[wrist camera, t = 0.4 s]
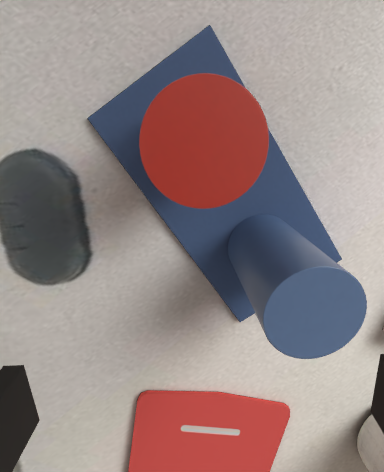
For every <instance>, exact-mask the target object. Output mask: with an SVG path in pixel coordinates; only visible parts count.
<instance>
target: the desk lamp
mask: <svg viewBox="0 0 384 472" xmlns="http://www.w3.org/2000/svg"><path fill="white" fill-rule="evenodd" d="M289 417H290V409H289V407H288V406H287V405H286V404H285V403H281V402H275V401H269V400H263V399H257V398H251V397H246V396H240V395H234V394H228V393H222V392H198V391H153V390H147V391H145V392H142V393H141V394H140V396H139V398H138V399H137V407H136V415H135V423H134V431H133V439H132V446H131V454H130V462H129V470H128V472H270V469H271V467H272V464H273V461H274V458H275V456H276V453H277V450H278V447H279V445H280V442H281V439H282V436H283V434H284V431H285V428H286V426H287V423H288V420H289Z"/></svg>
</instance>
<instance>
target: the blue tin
mask: <svg viewBox="0 0 384 472" xmlns="http://www.w3.org/2000/svg"><path fill="white" fill-rule="evenodd" d="M228 255H229V259H230V261H231V263H232V265H233V267H234V269H235V271H236V273H237V276H238V278H239V280H240V282H241V284H242V286H243V288H244V290H245V292H246V295H247V297H248V299H249V301H250V303H251V305H252V307H253V309H254V311H255V313H256V316H257V318H258V320H259V322H260V324H261V326H262V328H263V330H264V332H265V334H266V337H267V339H268V340H269V342H270V343H271V344H272V345H273V346H274V347H275V348H276V349H277V350H278V351H280V352H282V353H283V354H285V355H288V356H290V357H294V358H300V359H313V358H319V357H323V356H326V355H329V354H331V353H333V352H335V351H337V350H339V349H340V348H342V347H343V346H345V345H346V344H347V343H348V342H349V341H351V339H352V338H353V337H354V336H355V335H356V334H357V332H358V331H359V329H360V327H361V326H362V323H363V321H364V318H365V315H366V309H367V301H366V295H365V292H364V290H363V288H362V286H361V284H360V283H359V281H358V280H357V279H356V278H355V277H354V276H353V275H351V274H350V273H349V272H348V271H346V270H345V269H344V268H343V267H341V266H340V265H339V264H337V263H336V262H335V261H334V260H332V259H331V258H330V257H329V256H327V255H326V254H325V253H324V252H322V251H321V250H320V249H318V248H317V247H316V246H315V245H313V244H312V243H311V242H310V241H308V240H307V239H306V238H305V237H303V236H302V235H301V234H300V233H298V232H297V231H296V230H294V229H293V228H292V227H291V226H289V225H288V224H287V223H286V222H284V221H283V220H282V219H280V218H278V217H276V216H273V215H269V214H259V215H254V216H251V217H249V218H247V219H245V220H243V221H242V222H241V223H240V224H238V225H237V226H236V228H235V229H234V230H233V232H232V234H231V236H230V238H229V242H228Z"/></svg>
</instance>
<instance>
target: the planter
mask: <svg viewBox="0 0 384 472" xmlns="http://www.w3.org/2000/svg"><path fill="white" fill-rule="evenodd" d="M357 448H358V452H359V454H360V456H361V459H362V461H363V462H364V464H365V466H366V467H367V469H368V471H369V472H384V434H383V432H382V430H381V429H380V427H379V425H378V424H377V422H376V420H375V419H374V417H373V415H372V414H371V415H370V416H369V417H368V418H367V419H366V421H365V422H364V424H363V426H362V427H361V429H360V432H359V435H358V439H357Z"/></svg>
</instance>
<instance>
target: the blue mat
mask: <svg viewBox="0 0 384 472" xmlns="http://www.w3.org/2000/svg"><path fill="white" fill-rule="evenodd" d="M199 73H210V74H217V75H221V76H225V77H227V78H230V79H232V80H234V81H236V82H237V83H239V84H241V85H242V86H243V87H244V88H245V86H244V85H243V83H242V81H241V79H240V78H239V76H238V74H237V72H236V70H235V69H234V67H233V65H232V63H231V62H230V60H229V58H228V56H227V54H226V53H225V51H224V49H223V47H222V46H221V44H220V42H219V40H218V39H217V37H216V35H215V33H214V31H213V30H212V28H211V26H210V25H209V26H208V27H206V28H205V29H204V30H202V31H201V32H200V33H199V34H197V35H196V36H195V37H193V38H192V39H191V40H189V41H188V42H187V43H185V44H184V45H183V46H182V47H180V48H179V49H178V50H176V51H175V52H174V53H172V54H171V55H170V56H168V57H167V58H166V59H164V60H163V61H162V62H161V63H159V64H158V65H157V66H155V67H154V68H153V69H151V70H150V71H149V72H147V73H146V74H145V75H144V76H142V77H141V78H140V79H138V80H137V81H136V82H134V83H133V84H132V85H130V86H129V87H128V88H127V89H125V90H124V91H123V92H121V93H120V94H119V95H117V96H116V97H115V98H113V99H112V100H111V101H109V102H108V103H107V104H106V105H104V106H103V107H102V108H100V109H99V110H98V111H96V112H95V113H94V114H92V115H91V116H90V117H89V118H88V120H89V121H90V123H91V124H92V125H93V127H94V128H95V129H96V131H97V132H98V133H99V135H100V136H101V137H102V139H103V140H104V141H105V143H106V144H107V145H108V147H109V148H110V149H111V151H112V152H113V153H114V155H115V156H116V157H117V159H118V160H119V161H120V163H121V164H122V165H123V167H124V168H125V169H126V171H127V172H128V173H129V175H130V176H131V177H132V179H133V180H134V181H135V183H136V184H137V185H138V187H139V188H140V189H141V191H142V192H143V193H144V195H145V196H146V197H147V199H148V200H149V201H150V203H151V204H152V205H153V207H154V208H155V209H156V211H157V212H158V213H159V215H160V216H161V217H162V219H163V220H164V221H165V223H166V224H167V225H168V227H169V228H170V229H171V231H172V232H173V233H174V235H175V236H176V237H177V239H178V240H179V241H180V243H181V244H182V245H183V247H184V248H185V249H186V251H187V252H188V253H189V255H190V256H191V257H192V259H193V260H194V261H195V263H196V264H197V265H198V267H199V268H200V269H201V271H202V272H203V273H204V275H205V276H206V277H207V279H208V280H209V281H210V283H211V284H212V285H213V287H214V288H215V290H216V291H217V292H218V294H219V295H220V296H221V298H222V299H223V300H224V302H225V303H226V304H227V306H228V307H229V308H230V310H231V311H232V312H233V314H234V315H235V316H236V318H237V319H238V320H239V322H241V321H243V320H245V319H246V318H248V317H249V316H251V315H253V314H254V313H255V311H254V309H253V307H252V305H251V303H250V301H249V299H248V297H247V295H246V292H245V290H244V288H243V286H242V284H241V282H240V280H239V278H238V276H237V273H236V271H235V269H234V267H233V265H232V263H231V261H230V259H229V255H228V242H229V238H230V236H231V234H232V232H233V230H234V229H235V228H236V226H237V225H238V224H240V223H241V222H242V221H243V220H245V219H247V218H249V217H251V216H254V215H259V214H269V215H273V216H276V217H278V218H280V219H282V220H283V221H284V222H286V223H287V224H288V225H289V226H291V227H292V228H293V229H294V230H296V231H297V232H298V233H300V234H301V235H302V236H303V237H305V238H306V239H307V240H308V241H310V242H311V243H312V244H313V245H315V246H316V247H317V248H318V249H320V250H321V251H322V252H324V253H325V254H326V255H327V256H329V257H330V258H331V259H332V260H334V261H335V262H336V263H337V262H338V261H340V260H342V258H341V257H340V255H339V253H338V251H337V250H336V248H335V246H334V244H333V242H332V241H331V239H330V237H329V235H328V234H327V232H326V230H325V228H324V227H323V225H322V223H321V221H320V219H319V218H318V216H317V214H316V212H315V211H314V209H313V207H312V205H311V203H310V202H309V200H308V198H307V196H306V195H305V193H304V191H303V189H302V188H301V186H300V184H299V182H298V180H297V179H296V177H295V175H294V173H293V172H292V170H291V168H290V166H289V164H288V163H287V161H286V159H285V157H284V156H283V154H282V152H281V150H280V148H279V147H278V145H277V143H276V141H275V140H274V138H273V136H272V134H271V133H270V131H269V129H268V134H269V147H268V154H267V158H266V161H265V164H264V167H263V169H262V171H261V173H260V175H259V177H258V179H257V180H256V181H255V183H254V184H253V185H252V186H251V187H250V188H249V190H248V191H247V192H245V193H244V194H243V195H242V196H240V197H239V198H237V199H236V200H234V201H232V202H230V203H228V204H226V205H223V206H220V207H215V208H208V209H198V208H191V207H187V206H183V205H180V204H178V203H176V202H174V201H172V200H171V199H169V198H168V197H166V196H165V195H164V194H162V193H161V192H160V191H159V190H158V189H157V188H156V187H155V185H154V184H153V183H152V181H151V180H150V178H149V177H148V175H147V173H146V171H145V169H144V166H143V163H142V160H141V155H140V148H139V135H140V129H141V124H142V121H143V118H144V115H145V113H146V111H147V109H148V107H149V105H150V104H151V102H152V101H153V99H154V98H155V97H156V96H157V94H158V93H160V92H161V91H162V90H163V89H164V88H165V87H166V86H168V85H169V84H171V83H172V82H174V81H176V80H178V79H180V78H182V77H185V76H188V75H193V74H199Z"/></svg>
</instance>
